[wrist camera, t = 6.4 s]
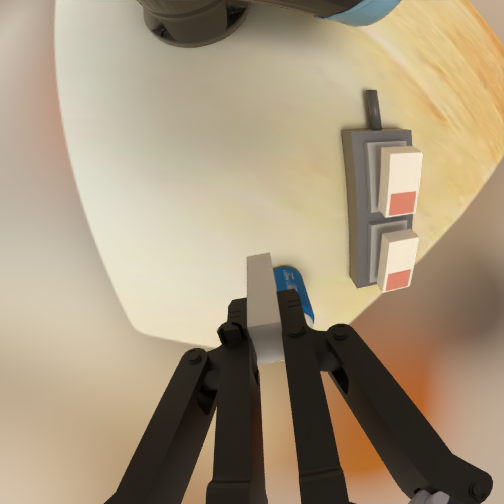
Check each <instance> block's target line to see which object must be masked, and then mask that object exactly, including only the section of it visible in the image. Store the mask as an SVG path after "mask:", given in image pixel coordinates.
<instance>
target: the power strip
mask: <svg viewBox="0 0 504 504" xmlns="http://www.w3.org/2000/svg"><path fill="white" fill-rule="evenodd" d="M366 94H367V100H368V107H369V114H370V122H371V129H361V130H345V131H341V134H342V142H343V151H344V160H345V171H346V183H347V197H348V214H349V244H350V277H351V279H352V281H353V282H354V284H355V286H356V288H361V287H366V286H370V285H375V284H377V277H378V270H379V261H380V252H381V241H382V234H384V233H389V232H395V231H401V230H407V229H412V220H413V214H407V215H400V216H394V217H387V218H385V217H384V215H383V214H382V213H381V212H380V210H379V209H378V204H379V191H380V174H381V147H400V146H412V135H411V130H407V129H399V128H387V129H382V126H381V117H380V110H379V102H378V96H377V90H366Z"/></svg>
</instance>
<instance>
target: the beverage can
mask: <svg viewBox="0 0 504 504" xmlns="http://www.w3.org/2000/svg"><path fill="white" fill-rule="evenodd" d="M273 272H274V277H275V282H276V288H277V291H282V290H288V289H293V288H294V289H295V290H296V291H297V292H298V293H299V296H300V300H301V303H302V307H303V311H304V315H305V319H306V322H307V325H308V326H309V327H310V328H313V323H314V314H313V310H312V307H311V304H310V301H309V298H308V295H307V291H306V288H305V285H304V282H303V279H302V276H301V274H300V273H299V272H298V271H297V270H295V269H293V268H291V267H280V268H277V269H274V270H273Z"/></svg>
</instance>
